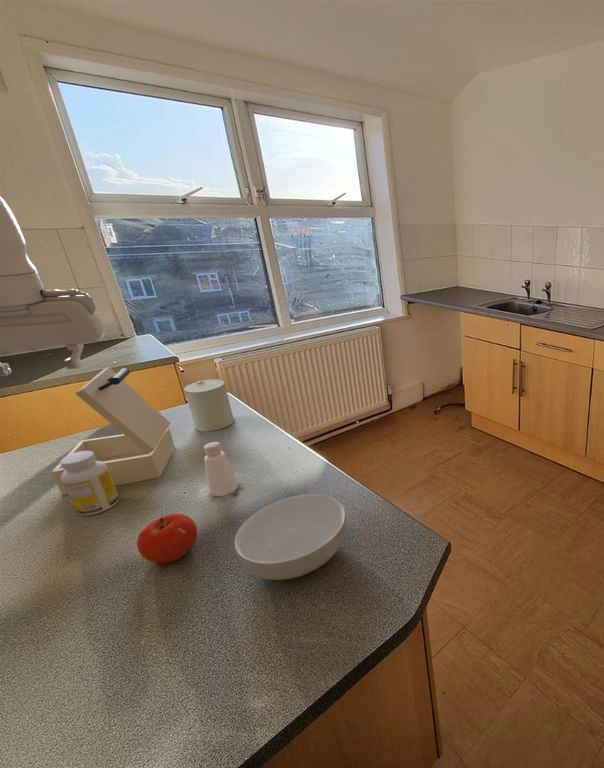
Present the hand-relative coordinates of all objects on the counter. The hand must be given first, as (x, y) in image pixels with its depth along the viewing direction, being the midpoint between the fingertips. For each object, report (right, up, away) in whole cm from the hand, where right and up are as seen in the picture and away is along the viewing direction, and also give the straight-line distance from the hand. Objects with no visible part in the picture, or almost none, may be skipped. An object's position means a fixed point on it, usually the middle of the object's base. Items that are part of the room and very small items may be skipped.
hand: (40, 371), depth 75 cm
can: (0, -13, +44) cm, 46 cm away
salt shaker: (+21, -25, +17) cm, 37 cm away
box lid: (-2, -8, +19) cm, 21 cm away
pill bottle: (0, -27, +11) cm, 29 cm away
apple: (+24, -32, 0) cm, 40 cm away
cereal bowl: (+45, -33, 0) cm, 56 cm away
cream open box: (-6, -22, +23) cm, 32 cm away
